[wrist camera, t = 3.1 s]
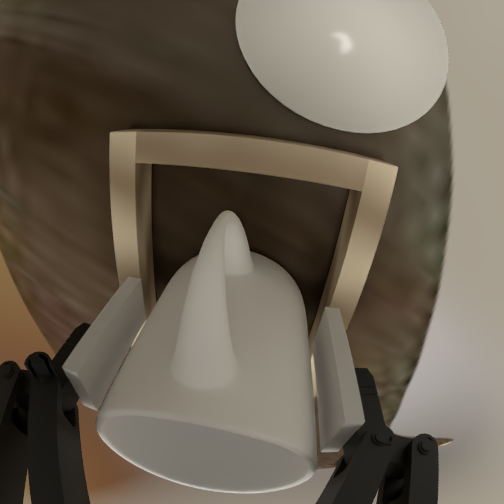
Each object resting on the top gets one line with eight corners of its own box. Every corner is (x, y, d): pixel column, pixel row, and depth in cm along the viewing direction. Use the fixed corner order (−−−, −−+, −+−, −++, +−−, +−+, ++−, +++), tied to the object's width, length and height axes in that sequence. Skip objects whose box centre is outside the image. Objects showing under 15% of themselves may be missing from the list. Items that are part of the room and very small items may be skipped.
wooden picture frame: (128, 128, 13) (109, 132, 11) (383, 160, 13) (398, 167, 11) (146, 355, 21) (138, 372, 19) (311, 381, 21) (313, 400, 19)
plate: (251, -57, 8) (250, -64, 7) (441, -8, 7) (447, -11, 7) (225, 113, 13) (222, 112, 12) (429, 155, 12) (436, 158, 12)
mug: (325, 191, 14) (406, 344, 5) (292, 356, 20) (293, 497, 10) (162, 178, 14) (14, 288, 5) (176, 342, 20) (129, 471, 10)
